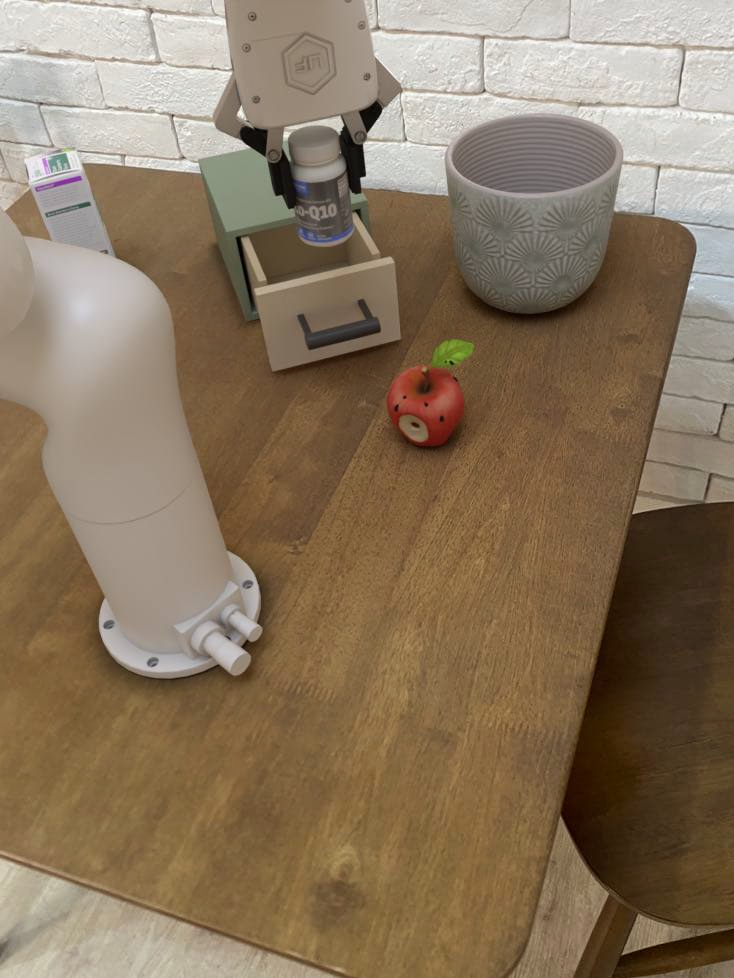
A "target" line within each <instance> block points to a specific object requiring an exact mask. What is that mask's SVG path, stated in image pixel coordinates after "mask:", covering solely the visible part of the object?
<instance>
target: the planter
mask: <svg viewBox="0 0 734 978" xmlns="http://www.w3.org/2000/svg"><path fill="white" fill-rule="evenodd" d="M624 155H625V154H624V148H623V146H622V144H621V142H620V141H619V139H618V138H617V137H616V135H614V133H612V132H611V131H609V130H608V129H606V128H605V127H603V126H602V125H599V124H597V123H595V122H593V121H590V120H587V119H583V118H580V117H577V116H572V115H567V114H560V113H559V114H558V113H549V112H528V113H517V114H509V115H503V116H499V117H494V118H491V119H487V120H485V121H482V122H479V123H476V124H474V125H472V126H470V127H468V128H467V129H465V130H463V131H462V132H460V133H459V134H458V135H456V136H455V137H454V138H453V139H452V140H451V142H449V144H448V146H447V147H446V150H445V153H444V168H445V176H446V186H447V197H448V205H449V213H450V223H451V233H452V242H453V250H454V257H455V259H456V264H457V267H458V270H459V272H460V274H461V276H462V279H463V281H464V282H465V284H466V286H467V287H468V288H469V290H471V293H473V294H474V295H475V296H477V298H478V299H480V300H481V301H483V302H484V303H485V304H487V305H489V306H491V307H492V308H495V309H498V310H501V311H505V312H509V313H513V314H514V313H515V314H520V315H521V314H523V315H532V314H535V315H536V314H541V313H547V312H551V311H556V310H558V309H561V308H563V307H565V306H568V305H570V303H572V302H574V301H575V300H577V299H578V298H579V297H580V296H582V295H583V294H584V293H585V292H586V291H587V290H588V289H589V288H590V287H591V285H592V283H593V282H594V281H595V279H596V277H597V275H598V274H599V272H600V270H601V267H602V265H603V262H604V258H605V257H606V252H607V247H608V243H609V236H610V231H611V227H612V222H613V217H614V211H615V205H616V201H617V195H618V189H619V185H620V179H621V173H622V168H623V162H624V157H625V156H624Z"/></svg>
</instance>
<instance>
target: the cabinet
mask: <svg viewBox="0 0 734 978" xmlns="http://www.w3.org/2000/svg"><path fill="white" fill-rule="evenodd" d="M282 148H283V150H284V152H285V154H286V156H287V158H288V160H289V162H290V160H291V157H290V154H289V146H288V139H287V140H283V145H282ZM197 162H198V167H199V170H200V175H201V179H202V184H203V187H204V192H205V197H206V200H207V205H208V209H209V213H210V217H211V222H212V225H213V230H214V234H215V239H216V242H217V246H218V248H219V252H220V254H221V257H222V259H223V263H224V265H225V268H226V270H227V273H228V276H229V278H230V281H231V284H232V286H233V289H234V292H235V294H236V297H237V300H238V303H239V305H240V309H241V311H242V313H243V316H244V319H245V321H246V322H247V323H248V322H251V321H255V320H260V317H259V315H258V312H257V310H256V307H255V305H254V302H253V299H252V297H251V294H250V292H249V289H248V287H247V283H246V278H245V273H244V269H243V264H242V260H241V255H240V251H239V246H238V242H237V237H238V236H242V235H247V234H251V233H255V232H260V231H264V230H269V229H273V228H277V227H282V226H286V225H290V224H295V223H297V222H296V216H295V210H294V208H293V209H289V210H288V208H287V205H286V203H285V201H284V199H283V197H282V195H280V196H275V194H274V191H273V188H272V183H271V178H270V172H269V167H268V162H267V158H266V157H264V156H263V155H261V154H260V153H258V152H257V151H255V150H254V149H252V148H251V147H249V148H245V149H240V150H236V151H230V152H226V153H220V154H216V155H211V156H206V157H202V158H198V159H197ZM349 189H350V188H349ZM350 198H351V207H352V210H355V212H356V213H357V215H358V217H359V218H360V220H361V222H362V223H363V225H364V227H365V228H366V230H367V232H368V234H369V235H370V237H371V238H372V233H371V223H370V221H371V220H370V211H369V205H368V204H369V203H368V198H367V197H366V195H365V194H364V191H362V193H361V194H356V195H355V193H352V192H351V190H350Z"/></svg>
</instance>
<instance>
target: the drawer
mask: <svg viewBox="0 0 734 978" xmlns="http://www.w3.org/2000/svg"><path fill="white" fill-rule="evenodd" d="M352 214H353V224H354V231H353V234H352V235H351V236H350V238H349V239H347V240H346V241H345V242H343V243H341V244H339V245H335V246H331V247H316V246H311V245H308V244H306V243H304V242H303V241H302V240H301V239H300V237H299V234H298V229H297V223H295V224H290V225H286V226H282V227H277V228H273V229H269V230H264V231H260V232H255V233H251V234H247V235H242V236H238V237H237V242H238V246H239V251H240V255H241V260H242V264H243V269H244V273H245V278H246V283H247V287H248V289H249V292H250V294H251V297H252V299H253V302H254V305H255V307H256V310H257V312H258V315H259V317H260V319H259V320H260V323H261V328H262V333H263V334H262V335H263V339H264V343H265V347H266V352H267V358H268V361H269V366H270V368H271V371H272V372H276V371H280V370H281V371H282V370H285V369H289V368H292V367H296V366H301V365H305V364H309V363H312V362H317V361H321V360H325V359H328V358H332V357H337V356H341V355H344V354H348V353H353V352H356V351H359V350H364V349H368V348H372V347H376V346H380V345H384V344H388V343H392V342H396V341H400V340H402V335H401V322H400V311H399V310H400V309H399V299H398V298H399V297H398V285H397V272H396V262H395V260H394V259H393V257H392V256H387V257H382V258H381V252H380V250H379V249H378V247H377V245H376V244H375V242H374V240H373V239H372V236H371V237H370V235H369V234H368V232H367V230H366V228H365V227H364V225H363V223H362V222H361V220H360V218H359V217H358V215H357V213H356V212H355V210H352Z"/></svg>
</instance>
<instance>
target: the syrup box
mask: <svg viewBox="0 0 734 978" xmlns="http://www.w3.org/2000/svg"><path fill="white" fill-rule="evenodd" d="M23 164H24V169H25V176H26V179H27V183H28V186H29V188H30V190H31V193H32V195H33V199H34V200H35V203H36V205H37V208H38V211H39V213H40V216H41V217H42V221H43V223H44V226H45V228H46V231H47V233H48V235H49V238H50V241H54V242H59V243H64V244H69V245H74V246H78V247H83V248H87V249H90V250H94V251H98V252H101V253H104V254H107V255H109V256H112V257H115V258H117V257H116V253H115V251H114V249H113V246H112V242H111V240H110V236H109V234H108V231H107V228H106V224H105V222H104V218H103V216H102V213H101V210H100V208H99V205H98V203H97V200H96V197H95V195H94V192H93V190H92V187H91V184H90V181H89V178H88V176H87V173H86V171H85V167H84V165H83V163H82V160H81V157H80V154H79V151H78V149H77V147H66V148H60V149H59V148H58V149H53V150H50V151H46V152H41V153H39V154H36V155H34V156H33V155H32V156H31V157H28V158H23Z"/></svg>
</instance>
